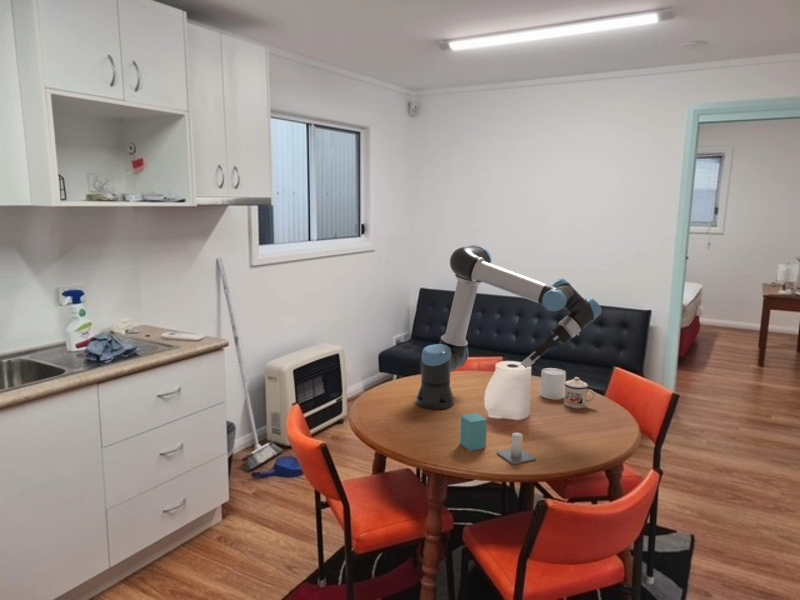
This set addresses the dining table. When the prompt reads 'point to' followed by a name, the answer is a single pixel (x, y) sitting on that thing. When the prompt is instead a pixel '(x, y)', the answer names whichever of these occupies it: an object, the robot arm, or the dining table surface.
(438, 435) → the dining table surface
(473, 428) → the teal rectangular prism
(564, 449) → the dining table surface
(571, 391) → the teacup with lid
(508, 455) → the post
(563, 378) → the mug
